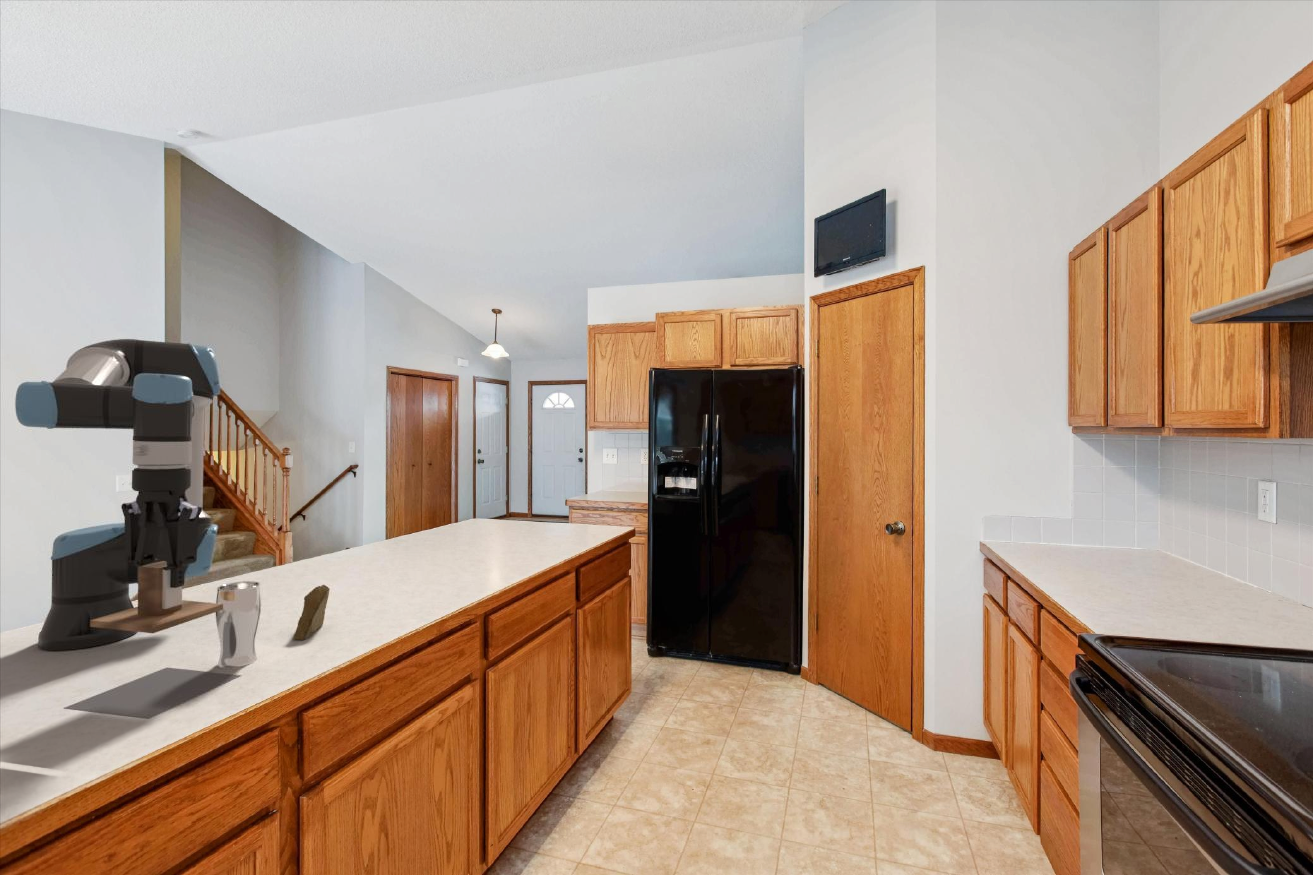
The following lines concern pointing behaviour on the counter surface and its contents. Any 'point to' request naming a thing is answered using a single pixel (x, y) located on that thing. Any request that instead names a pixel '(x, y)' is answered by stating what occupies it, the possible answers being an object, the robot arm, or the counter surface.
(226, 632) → the beer glass
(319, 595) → the rock
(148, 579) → the lid
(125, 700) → the mat
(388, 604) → the counter surface
